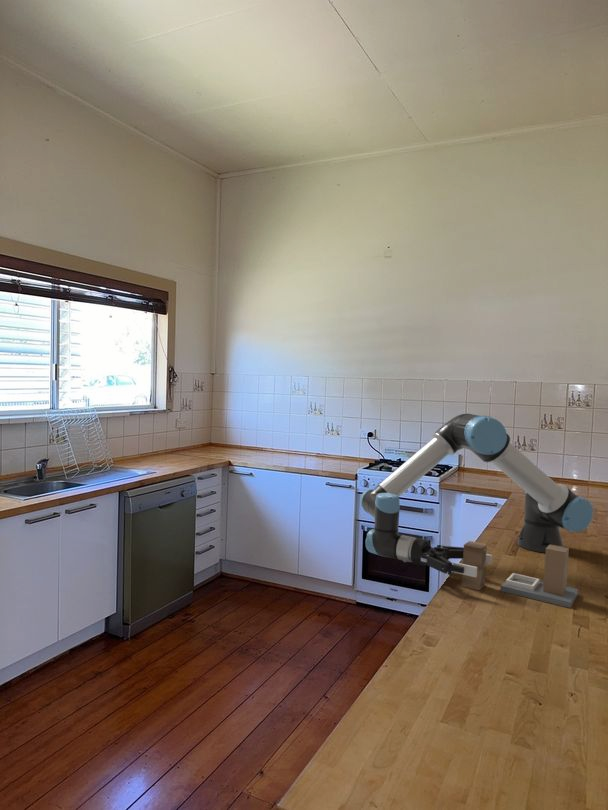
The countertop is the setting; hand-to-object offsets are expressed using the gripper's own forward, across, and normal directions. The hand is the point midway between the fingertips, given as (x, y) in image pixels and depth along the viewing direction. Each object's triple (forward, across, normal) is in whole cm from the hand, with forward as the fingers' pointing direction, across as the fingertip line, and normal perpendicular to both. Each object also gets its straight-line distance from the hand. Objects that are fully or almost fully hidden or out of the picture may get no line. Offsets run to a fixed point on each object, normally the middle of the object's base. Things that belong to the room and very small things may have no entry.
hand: (484, 566), depth 158 cm
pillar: (-3, 0, -6) cm, 7 cm away
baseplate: (+14, -7, -6) cm, 17 cm away
